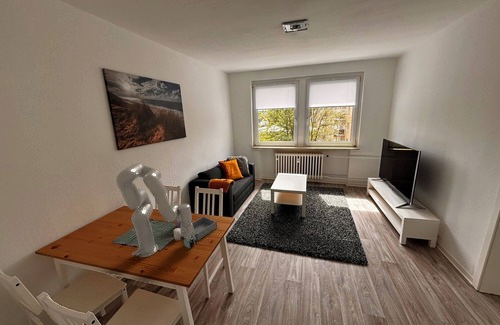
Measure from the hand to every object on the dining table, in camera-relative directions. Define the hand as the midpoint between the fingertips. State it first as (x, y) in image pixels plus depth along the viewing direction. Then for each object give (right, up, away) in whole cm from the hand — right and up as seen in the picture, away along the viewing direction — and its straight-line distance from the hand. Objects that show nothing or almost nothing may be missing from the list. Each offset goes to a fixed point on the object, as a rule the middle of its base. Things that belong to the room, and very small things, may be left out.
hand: (189, 244), depth 138 cm
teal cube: (0, 0, 0) cm, 1 cm away
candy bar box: (-12, +5, +25) cm, 28 cm away
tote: (+4, +4, +16) cm, 17 cm away
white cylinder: (-11, +1, +8) cm, 14 cm away
